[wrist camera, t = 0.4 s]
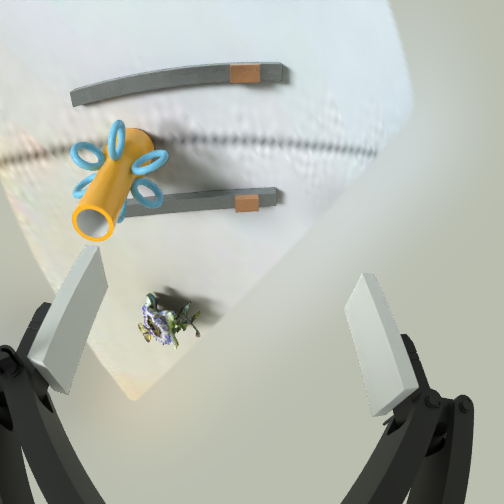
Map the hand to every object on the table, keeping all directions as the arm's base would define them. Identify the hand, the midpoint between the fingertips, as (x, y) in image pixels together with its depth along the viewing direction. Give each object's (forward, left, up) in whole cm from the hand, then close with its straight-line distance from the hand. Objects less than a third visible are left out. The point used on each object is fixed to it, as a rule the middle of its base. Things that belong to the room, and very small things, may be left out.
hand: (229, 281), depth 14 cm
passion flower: (+31, +18, -25) cm, 44 cm away
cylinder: (+11, -5, -25) cm, 27 cm away
